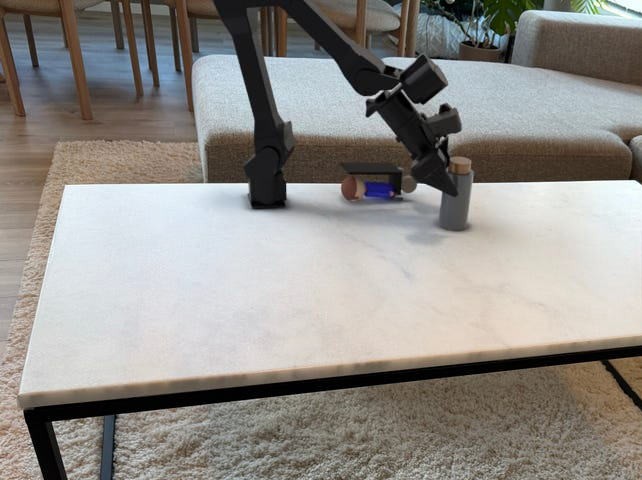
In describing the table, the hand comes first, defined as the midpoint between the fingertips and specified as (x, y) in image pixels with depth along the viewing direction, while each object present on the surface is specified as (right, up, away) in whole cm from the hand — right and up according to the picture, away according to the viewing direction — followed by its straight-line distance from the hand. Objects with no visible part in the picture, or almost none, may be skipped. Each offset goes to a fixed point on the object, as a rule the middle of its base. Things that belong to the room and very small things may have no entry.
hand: (457, 186), depth 131 cm
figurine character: (-17, 0, +11) cm, 20 cm away
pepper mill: (-1, -6, +5) cm, 8 cm away
